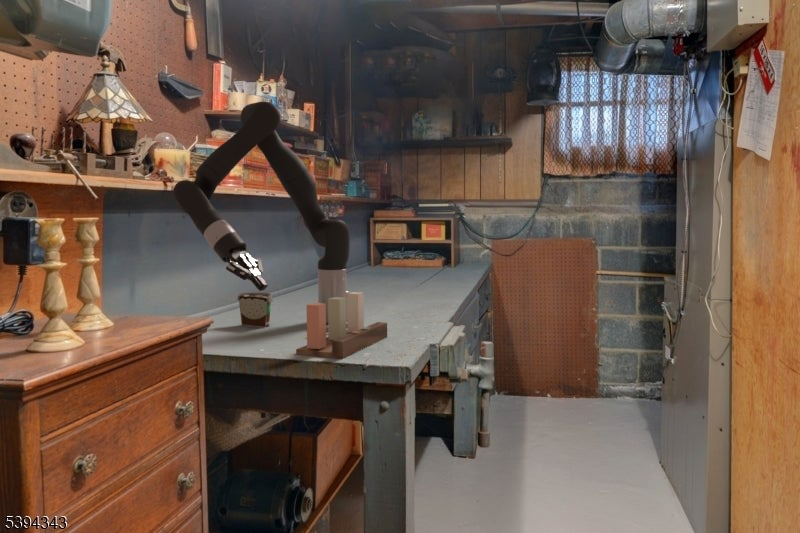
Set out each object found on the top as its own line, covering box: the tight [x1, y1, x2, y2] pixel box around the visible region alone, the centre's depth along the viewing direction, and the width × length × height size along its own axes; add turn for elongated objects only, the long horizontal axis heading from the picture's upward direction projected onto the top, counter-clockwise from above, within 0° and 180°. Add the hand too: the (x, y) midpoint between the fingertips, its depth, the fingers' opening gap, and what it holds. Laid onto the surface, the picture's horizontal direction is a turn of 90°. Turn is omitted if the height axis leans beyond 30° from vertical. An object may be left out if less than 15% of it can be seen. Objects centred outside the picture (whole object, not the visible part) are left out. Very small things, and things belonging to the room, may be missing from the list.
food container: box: [237, 291, 274, 328], centre depth 190 cm, size 12×6×10 cm, turn 65°
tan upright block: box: [346, 291, 365, 332], centre depth 171 cm, size 4×4×11 cm
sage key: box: [327, 297, 347, 340], centre depth 161 cm, size 4×4×11 cm
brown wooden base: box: [295, 321, 388, 359], centre depth 161 cm, size 13×27×4 cm, turn 158°
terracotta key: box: [306, 302, 327, 349], centre depth 151 cm, size 4×4×11 cm
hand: (264, 288), depth 156 cm, fingers closed
